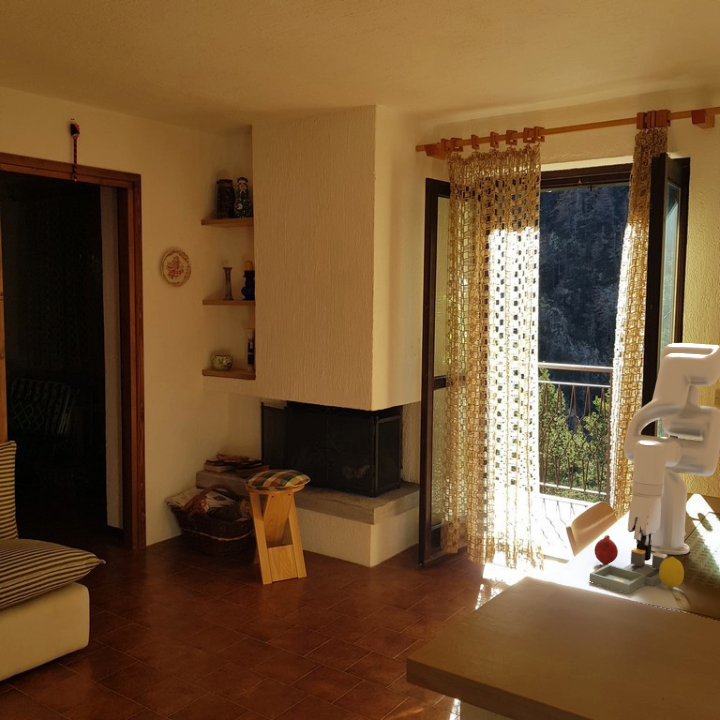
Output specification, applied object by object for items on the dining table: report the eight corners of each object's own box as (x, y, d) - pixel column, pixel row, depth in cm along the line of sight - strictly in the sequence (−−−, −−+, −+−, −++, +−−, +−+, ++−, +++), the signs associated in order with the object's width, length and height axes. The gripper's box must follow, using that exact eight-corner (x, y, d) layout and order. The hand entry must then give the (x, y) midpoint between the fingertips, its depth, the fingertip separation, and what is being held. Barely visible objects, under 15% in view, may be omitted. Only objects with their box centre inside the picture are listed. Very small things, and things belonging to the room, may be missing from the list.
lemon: (685, 594, 177) (687, 561, 176) (660, 592, 178) (662, 559, 177) (680, 586, 182) (682, 554, 182) (656, 583, 183) (658, 551, 183)
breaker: (655, 565, 190) (655, 552, 190) (666, 568, 188) (667, 554, 188) (651, 567, 189) (652, 553, 188) (663, 570, 187) (663, 556, 186)
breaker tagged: (633, 561, 193) (634, 548, 192) (644, 564, 191) (645, 550, 190) (630, 563, 191) (631, 549, 191) (641, 566, 189) (642, 552, 189)
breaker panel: (636, 566, 195) (636, 559, 195) (671, 575, 189) (671, 569, 189) (617, 576, 187) (618, 569, 187) (653, 586, 181) (653, 579, 181)
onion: (613, 570, 192) (615, 540, 191) (591, 565, 195) (592, 535, 194) (619, 564, 197) (620, 534, 196) (596, 559, 200) (598, 530, 199)
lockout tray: (607, 572, 190) (608, 564, 190) (645, 583, 183) (646, 574, 183) (589, 582, 183) (589, 573, 183) (628, 593, 176) (629, 584, 176)
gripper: (645, 482, 200) (640, 549, 201) (620, 490, 189) (616, 561, 190) (673, 487, 195) (669, 556, 196) (650, 496, 184) (645, 569, 185)
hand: (643, 558), depth 193 cm, fingers closed
